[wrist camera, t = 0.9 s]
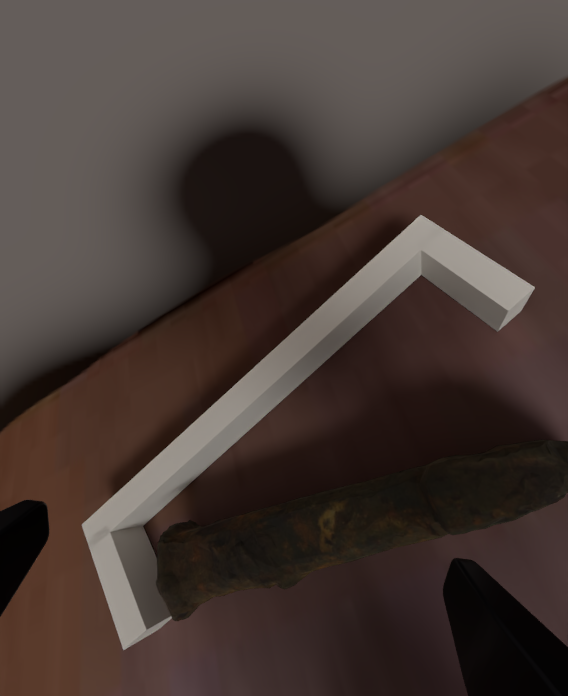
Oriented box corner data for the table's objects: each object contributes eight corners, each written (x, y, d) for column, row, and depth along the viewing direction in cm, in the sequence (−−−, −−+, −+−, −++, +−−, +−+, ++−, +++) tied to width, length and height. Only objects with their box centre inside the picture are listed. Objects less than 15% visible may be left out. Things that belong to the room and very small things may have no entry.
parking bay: (520, 311, 17) (535, 287, 15) (158, 629, 19) (123, 650, 16) (421, 242, 20) (420, 214, 18) (116, 519, 22) (81, 524, 19)
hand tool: (203, 602, 19) (141, 638, 14) (194, 520, 20) (137, 532, 16) (606, 527, 14) (682, 550, 10) (553, 430, 16) (601, 414, 12)
